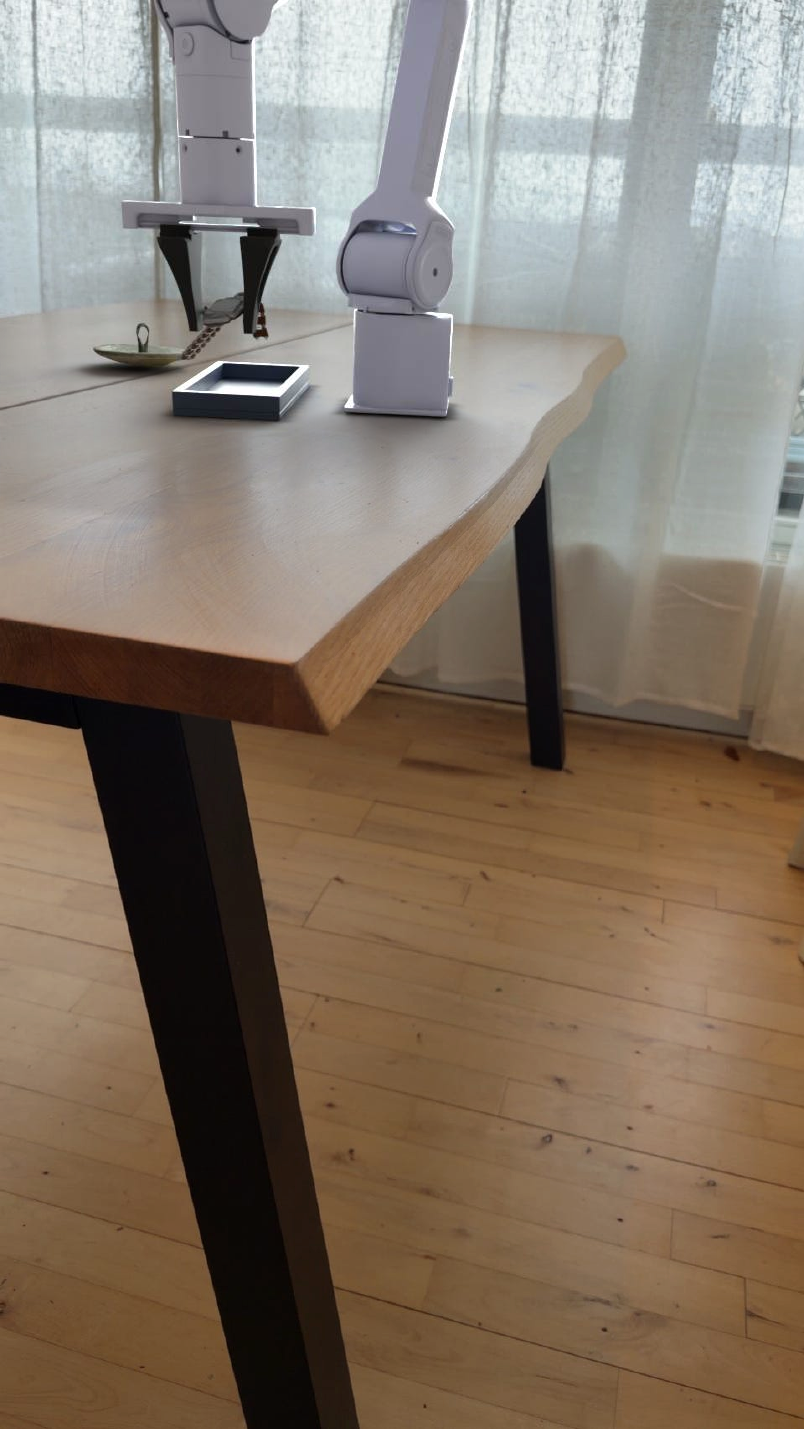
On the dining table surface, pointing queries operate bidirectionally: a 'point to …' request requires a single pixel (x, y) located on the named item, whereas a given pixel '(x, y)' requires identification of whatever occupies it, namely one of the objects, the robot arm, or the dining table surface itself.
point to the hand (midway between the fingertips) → (222, 331)
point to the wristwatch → (222, 322)
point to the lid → (139, 352)
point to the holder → (242, 391)
